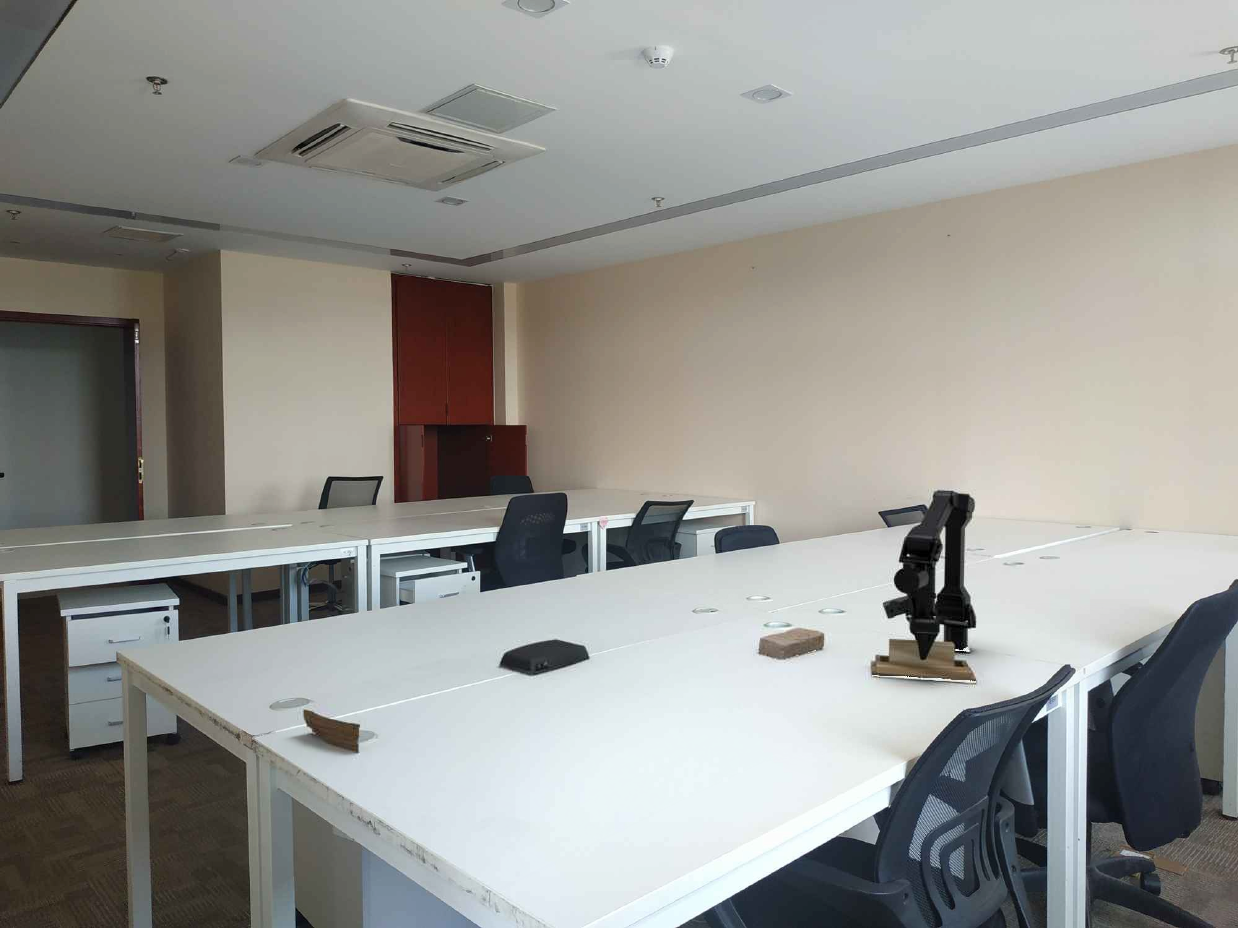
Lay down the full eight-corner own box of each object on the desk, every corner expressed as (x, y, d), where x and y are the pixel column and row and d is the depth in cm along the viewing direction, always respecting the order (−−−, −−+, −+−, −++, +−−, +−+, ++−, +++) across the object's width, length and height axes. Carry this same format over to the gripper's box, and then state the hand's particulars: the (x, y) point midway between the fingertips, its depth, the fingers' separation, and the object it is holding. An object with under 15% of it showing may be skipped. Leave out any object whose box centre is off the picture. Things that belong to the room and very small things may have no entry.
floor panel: (870, 664, 204) (871, 654, 203) (970, 671, 198) (970, 660, 198) (871, 676, 194) (872, 665, 194) (976, 684, 188) (976, 672, 188)
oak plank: (888, 663, 201) (889, 638, 201) (952, 667, 197) (952, 642, 197) (889, 667, 197) (889, 642, 197) (954, 672, 194) (954, 645, 194)
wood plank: (365, 750, 151) (364, 722, 151) (355, 754, 150) (355, 726, 149) (312, 732, 160) (311, 706, 160) (302, 736, 158) (301, 709, 158)
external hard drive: (496, 667, 204) (496, 650, 204) (555, 651, 218) (555, 635, 218) (533, 678, 195) (533, 660, 195) (592, 661, 210) (592, 644, 209)
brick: (782, 661, 208) (782, 642, 208) (756, 654, 215) (756, 635, 214) (825, 650, 218) (826, 632, 218) (799, 643, 225) (800, 626, 225)
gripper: (883, 578, 208) (883, 642, 208) (886, 593, 189) (886, 662, 190) (932, 580, 205) (931, 645, 205) (940, 595, 187) (939, 666, 187)
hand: (921, 654), depth 197 cm, fingers open, 9 cm apart
